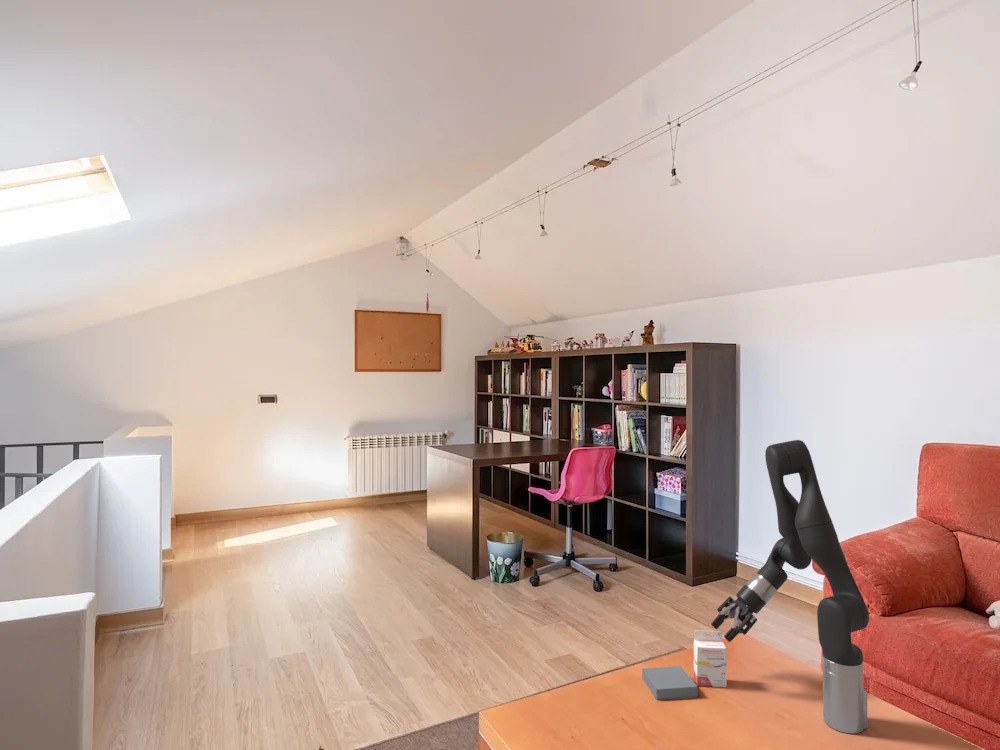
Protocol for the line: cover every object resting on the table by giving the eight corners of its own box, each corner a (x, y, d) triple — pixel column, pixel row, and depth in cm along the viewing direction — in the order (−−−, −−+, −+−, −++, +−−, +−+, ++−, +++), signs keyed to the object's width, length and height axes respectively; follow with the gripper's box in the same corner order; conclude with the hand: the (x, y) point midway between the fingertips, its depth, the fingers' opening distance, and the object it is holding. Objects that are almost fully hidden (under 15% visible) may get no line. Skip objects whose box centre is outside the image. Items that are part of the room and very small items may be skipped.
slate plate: (680, 675, 182) (680, 666, 182) (697, 697, 170) (697, 686, 170) (642, 678, 181) (642, 668, 181) (656, 700, 169) (656, 689, 169)
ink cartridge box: (697, 686, 176) (696, 636, 176) (693, 678, 181) (692, 629, 181) (727, 687, 175) (726, 637, 175) (722, 679, 180) (722, 630, 180)
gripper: (736, 576, 186) (700, 615, 185) (760, 593, 172) (722, 635, 171) (752, 592, 187) (717, 631, 186) (778, 611, 173) (740, 652, 172)
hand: (719, 633), depth 179 cm, fingers open, 8 cm apart
